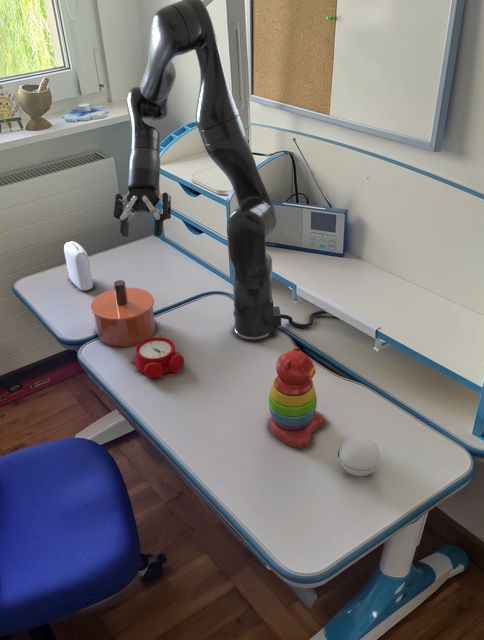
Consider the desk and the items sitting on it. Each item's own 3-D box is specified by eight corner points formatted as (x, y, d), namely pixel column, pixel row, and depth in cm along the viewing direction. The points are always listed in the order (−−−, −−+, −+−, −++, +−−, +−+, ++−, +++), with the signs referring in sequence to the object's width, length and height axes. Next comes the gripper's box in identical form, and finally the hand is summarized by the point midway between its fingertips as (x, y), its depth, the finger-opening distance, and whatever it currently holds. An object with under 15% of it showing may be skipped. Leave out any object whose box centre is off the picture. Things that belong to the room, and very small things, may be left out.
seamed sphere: (354, 451, 126) (357, 421, 122) (386, 470, 121) (390, 440, 117) (319, 476, 121) (320, 447, 117) (351, 498, 116) (353, 468, 112)
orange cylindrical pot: (145, 310, 175) (142, 285, 171) (162, 337, 163) (159, 311, 159) (91, 323, 171) (87, 298, 167) (105, 351, 159) (100, 325, 155)
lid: (143, 286, 171) (140, 263, 168) (162, 313, 159) (159, 289, 156) (85, 300, 167) (80, 276, 163) (99, 329, 155) (95, 304, 151)
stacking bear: (305, 451, 127) (307, 376, 117) (258, 434, 131) (257, 361, 122) (327, 419, 134) (332, 346, 124) (283, 404, 139) (284, 333, 129)
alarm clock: (165, 330, 159) (189, 347, 146) (169, 354, 161) (194, 373, 148) (124, 342, 155) (146, 361, 142) (129, 366, 158) (151, 387, 145)
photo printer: (67, 279, 192) (60, 240, 185) (81, 275, 194) (74, 236, 187) (81, 292, 185) (74, 252, 178) (95, 288, 187) (88, 248, 180)
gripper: (111, 167, 160) (107, 233, 160) (165, 165, 156) (162, 233, 155) (124, 176, 167) (121, 239, 167) (177, 174, 163) (173, 239, 163)
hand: (140, 236), depth 161 cm, fingers open, 8 cm apart
